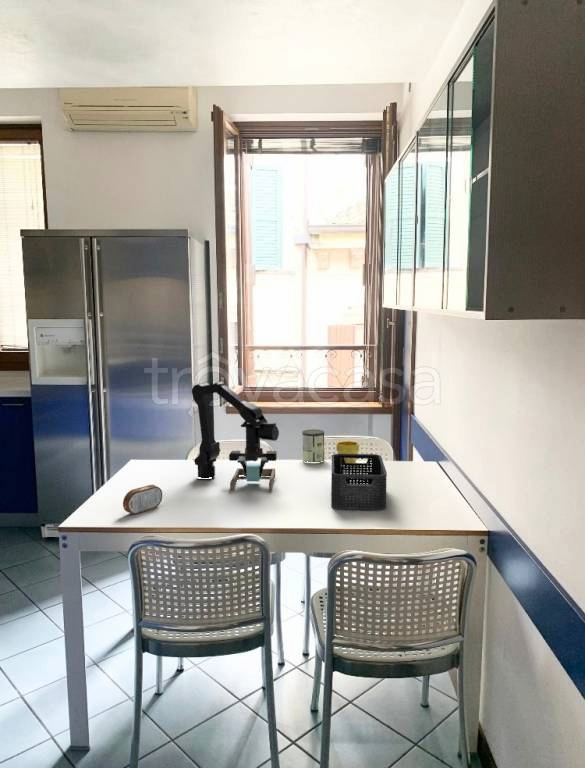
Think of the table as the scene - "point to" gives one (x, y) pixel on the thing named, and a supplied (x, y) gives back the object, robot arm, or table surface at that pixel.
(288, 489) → the table surface
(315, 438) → the coffee can
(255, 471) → the teal block
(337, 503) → the storage bin
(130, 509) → the tin
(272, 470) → the wooden u-shaped frame
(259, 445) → the robot arm
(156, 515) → the table surface
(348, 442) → the plant pot
